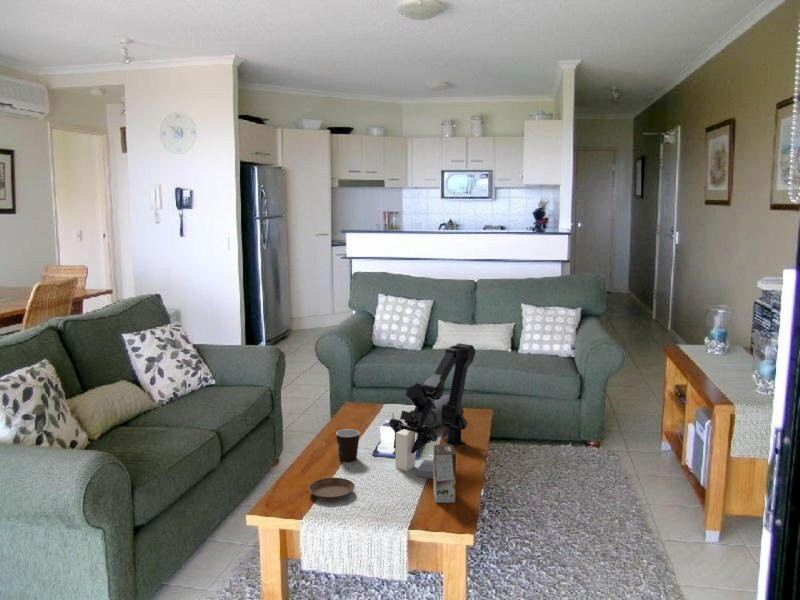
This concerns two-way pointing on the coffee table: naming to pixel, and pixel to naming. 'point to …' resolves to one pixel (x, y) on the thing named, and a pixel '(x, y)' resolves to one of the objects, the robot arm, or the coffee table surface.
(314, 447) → the coffee table surface
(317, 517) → the coffee table surface
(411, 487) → the coffee table surface
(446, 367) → the robot arm
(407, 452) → the post
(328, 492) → the saucer
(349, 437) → the coffee mug
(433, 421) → the bluetooth speaker
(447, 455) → the coffee box
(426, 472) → the plinth
